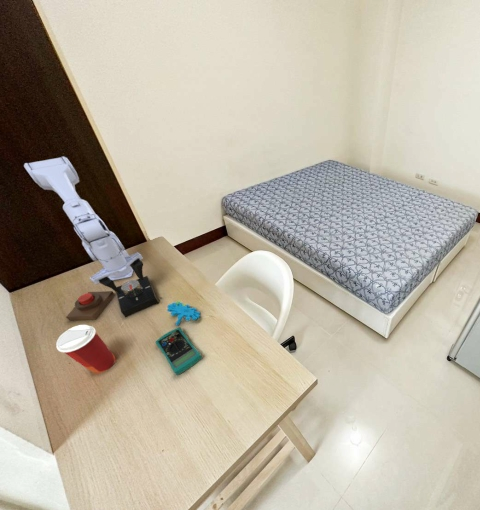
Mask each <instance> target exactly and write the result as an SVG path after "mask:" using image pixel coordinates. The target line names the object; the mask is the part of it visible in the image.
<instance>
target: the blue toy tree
mask: <svg viewBox="0 0 480 510" xmlns="http://www.w3.org/2000/svg"><path fill="white" fill-rule="evenodd" d="M166 307H167V310H166V311H167V312H169V313H170V316H172V317H176V316H177V317H176V319H177V320H176V322H175V325H176V326H179V325H180V323H181V322H182V320H183V319H184V321H187V322H190V320H191V321H197V319H200V317H201V314H200V311H198V310H197V308H196V307H191V305H190V304H184V303H183V302H181V301H180V300H176V302H172V303H169V304H168V305H167V306H166Z"/></svg>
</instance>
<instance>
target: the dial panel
mask: <svg viewBox="0 0 480 510" xmlns="http://www.w3.org/2000/svg"><path fill="white" fill-rule="evenodd" d="M143 278H144V279H143V280H141V279H139V278H137V279H136V280H137V281H139V283H140V284H141V286H142V287H143V292H142V293H141V294H140V295H139V296H136V297H133V298H128V297H127V296H126V295H125V294H124V292H123V291H122V290H121V287H122V285H123V284H122V285H118V286H116V287H117V288H118V289H119V290H120V292H121V293H120V294H118V293H116V296H117V301H118V305H119V309H120V312H121V314H122V315H123V317H124V318H128V317H130V316H132V315H134V314H137V313H139V312H142V311H145V310H146V309H149V308H151V307H153V306H157V305H159V303H160V302H159V300H158V297H157V294H156V291H155V289H154V287H153V284H152V281H151V280H150V278H149V276H148V275H146V276H143Z"/></svg>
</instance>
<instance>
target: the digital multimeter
mask: <svg viewBox="0 0 480 510" xmlns="http://www.w3.org/2000/svg"><path fill="white" fill-rule="evenodd" d="M154 342H155V345H156V346H157V348H159V350H160V351H161V352H162V354H163V356H164V357H165V359H166V361H167V362H168V364H169V366H170V367H171V369H172V371H173V373H174V374H175V376H178V375H180V374H182V373H184V372H186V371H187V370H188V369H190V368H191V367H193V366H194V365H195V364H196V363H198V362H199V361H201V359H203V356H202V355H201V353H200V352H199V351H198V349H197V348H196V347H195V346H194V345H193V344H192V342H191V341H190V340H189V338H188V336H187V335H186V334H185V332H184V331H183V330H182V328H181V327H176V328H174V329H171V330H170V331H168V332H166V333H164V334H163V335H162V336H161V337H159V338H157V340H155V341H154Z"/></svg>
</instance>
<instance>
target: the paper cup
mask: <svg viewBox="0 0 480 510" xmlns="http://www.w3.org/2000/svg"><path fill="white" fill-rule="evenodd" d="M55 344H56V346H55V347H56V349H57V351H58V352H60V353H64V354H65V355H67V356H68V357H70V358H71V359H73V360H74V361H75V362H77V363H78V364H80V365H81V366H83V367H84V368H86V369H87V370H88V371H90V372H92V373H93V374H102V373H104V372H106V371H108V370H110V369H111V368H112V367H113V366H114V364H115V362H116V357H115V355H114V353H113V352H112V351H111V349H110V348H109V347H108V346H107V344H106V343H105V342H104V340H103V339H102V338H101V337H100V336H99V335H98V333H97V331H96V328H95V327H94V326H91V325H88V324H79V325H75V326H73V327H70V328H69V329H67V330H66V331H64V332H63V333H61V334H60V336H58V338H57V340H56V343H55Z"/></svg>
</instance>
